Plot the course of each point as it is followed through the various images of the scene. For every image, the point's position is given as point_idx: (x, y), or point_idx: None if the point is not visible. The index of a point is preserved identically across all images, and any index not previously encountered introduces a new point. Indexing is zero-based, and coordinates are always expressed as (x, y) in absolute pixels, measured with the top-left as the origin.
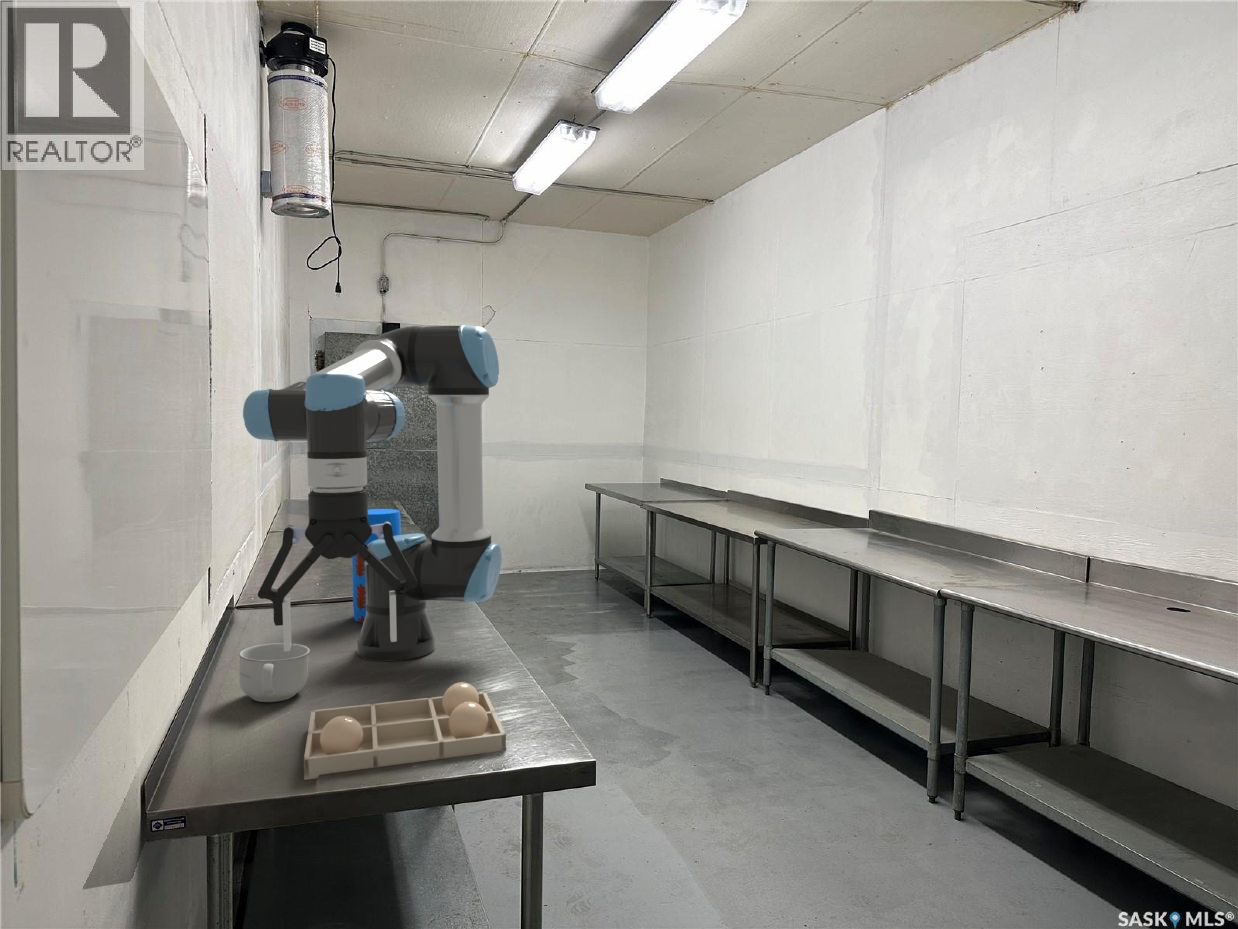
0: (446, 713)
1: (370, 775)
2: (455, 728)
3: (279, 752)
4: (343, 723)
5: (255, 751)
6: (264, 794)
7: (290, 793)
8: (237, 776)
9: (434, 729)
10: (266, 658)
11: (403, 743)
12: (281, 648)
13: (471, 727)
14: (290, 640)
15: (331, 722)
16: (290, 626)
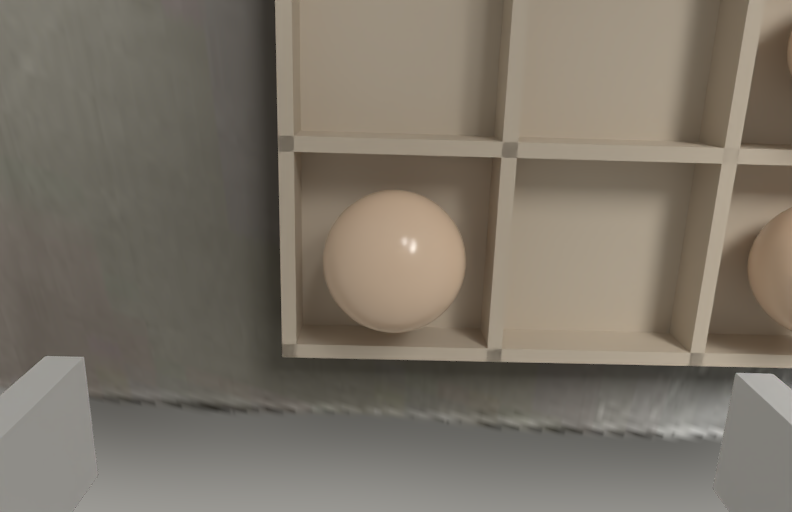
0: (788, 66)
1: None
2: (767, 313)
3: (195, 104)
4: (401, 316)
5: (114, 67)
6: (196, 378)
7: (262, 394)
8: (100, 245)
9: (705, 207)
10: None
11: (588, 202)
12: None
13: None
14: (67, 449)
15: (359, 294)
16: (11, 481)
